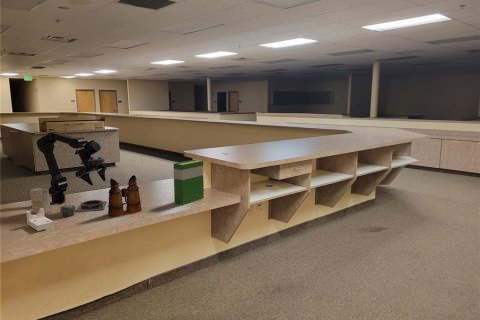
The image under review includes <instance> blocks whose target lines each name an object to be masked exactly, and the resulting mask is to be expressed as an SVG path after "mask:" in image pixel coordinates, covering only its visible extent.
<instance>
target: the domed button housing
mask: <svg viewBox="0 0 480 320" xmlns="http://www.w3.org/2000/svg"><path fill="white" fill-rule="evenodd" d="M59 209H60V215H62V217H63V218H70V217H74V216H75V214H76V213H77V212H76V206H75V205H73V204H67V205H62V206H60V207H59Z"/></svg>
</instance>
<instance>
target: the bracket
mask: <svg viewBox="0 0 480 320" xmlns="http://www.w3.org/2000/svg"><path fill="white" fill-rule="evenodd" d="M25 213H26V214H25V215H26V221H27V222H26V223H27V225H28V226H29V227H30V228H33V229H34V231H37V232H39V231H49V230H52V229H55V224H54V221H53V220H51V219H49V218H47V217H46V214H44V209H43V208H40V211H39V212H38V213H37V214H36V213H34V214H32V213H31V211H29V210H27V211H25Z"/></svg>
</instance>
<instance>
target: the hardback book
mask: <svg viewBox="0 0 480 320" xmlns="http://www.w3.org/2000/svg"><path fill="white" fill-rule="evenodd" d="M204 187H205V186H204V160H199V161H197V160H196V159H192V160H186V161H179V162H175V163H173V192H174V194H173V196H174V204H179V205H186V204H190V203H193V202H195V201H196V202H197V201H200V200H202V199H204V198H205V197H204V194H205V193H204V191H205V189H204Z"/></svg>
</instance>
